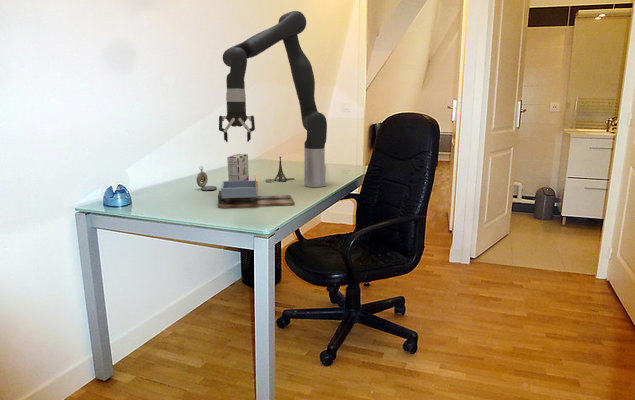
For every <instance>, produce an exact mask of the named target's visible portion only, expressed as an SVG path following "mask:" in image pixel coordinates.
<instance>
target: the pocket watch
mask: <svg viewBox="0 0 635 400" xmlns="http://www.w3.org/2000/svg"><path fill="white" fill-rule="evenodd" d="M199 170H200V172H199V173H198V174H197V176H196V185H197V186H198V187H200V189H201V190H202V191H207V192H210V191H215V190H217V188H218V187H217V186H214V185H207V184H208V181H209V180H208V175H207V173H206V172H204V167H203V166H201V167H199Z"/></svg>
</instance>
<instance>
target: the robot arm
mask: <svg viewBox="0 0 635 400" xmlns="http://www.w3.org/2000/svg"><path fill="white" fill-rule="evenodd" d="M306 27H307V18H306V16H305V14H304V13H303V12H301V11H299V10H292V11H289V12H287V13H284V14H282V15H281V16H280V17H279V19H278V23H277V24H275V25H273V26H271V27H269V28H267V29H264V30H262V31H260V32H258V33H256V34H254V35H253V36H251V37H249V38H247V39H246V40H244V41H243V42H240V43H238V44H236V45H233V46H231V47H229V48H227V49H226V50H225V51H224V52H223V53H222V62H223V63H224V65H225V66H227V67H229V68H230V69H229V73H227V75H226V79H225V81H226V93H225V94H226V95H225V97H226V98H225V100H226V115H219V117H218V130H219V132H222V133H223V140H224V142H225V143H228V142H229V137H228V136H229V135H228V130H229V129H230V128H231V127H239V128H240V127H243V128H245V130H246V131H247V132H246V139H247V143H249V142H250V141H251V139H252V135H251V134H252V132H254V131H256V126H255V116H254V115H252V114H251V115H247V101H246V100H247V98H246V96H247V95H246V91H245V89H246V88H245V85H246V84H245V76H246V72H247V71H246V70H247V67H248V65H247V64H248V59H251V58H254V57H257V56H258V55H260V54H261V53H263V52H264V51H266V50H268V49H269V48H271V47H272V46H274V45H276V44H277V43H279V42H281V41H282V43H283V44H284V48H285V49H284V50H285V52H286V56H287V60H288V63H289V67H290V72H291V73H290V74H291V77H292V81H293V84H294V88H295V89H294V90H295V93H296V97H297V99H298V103H299V108H300V116H301V122H302V126H303V128H304V130H305V131H306V138H305V139H306V140H304V142H303V143H304V145H303V147H304V152H303V153H304V154H303V156H304V159H303V160H304V162H303V164H304V182H303V183H304V186H305V187H308V188H321V187H326V178H327V176H326V168H327V167H326V165H325V163H326V157H325V155H326V152H325V151H326V147H325V146H326V143H327V134H328V133H327V132H328V131H327V130H328V123H327V118H326V116H325V114H323V113H322V112H319V111H318V107H317V104H316V99H315V93H316V92H315V91H316V89H315V88H316V87H315V86H316V84H315V83H316V81H315V74H314V70H313V65H312V64H311V62H310V60H309V58H308V57H307V55H306V54H305V52H304V51H303V49H302V47H301V43H300V40H299V34H301V33H302V32H304V30H305V29H306ZM225 120H226V121H227V122H228V124H227V125H226V126H225V127H224V128H223V122H225ZM247 120H248V121H249V122H250V123H251V127H250V128H249V126H248V125H247V124H246V122H247Z"/></svg>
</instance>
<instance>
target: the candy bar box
mask: <svg viewBox="0 0 635 400" xmlns="http://www.w3.org/2000/svg"><path fill="white" fill-rule="evenodd" d="M227 172H228V173H227V174H228V175H227V176H228V181H250V177H249V175H250V174H249V155H248V153H236V154H233V155H230V156H227Z"/></svg>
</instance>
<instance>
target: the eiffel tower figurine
mask: <svg viewBox="0 0 635 400" xmlns="http://www.w3.org/2000/svg"><path fill="white" fill-rule="evenodd" d="M278 162H279V163H278V165H279V167H278V172H277V174H276V176H275V178H267V179H264V181H265V182H266V183H270V184H271V183H274V182H276V183H287V182H289V181H294V180H295V181H296V179H295V178H294V177H291V178H290V177H286V175H285V174H284V171H283V167H282V156H281V155H279V161H278Z"/></svg>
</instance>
